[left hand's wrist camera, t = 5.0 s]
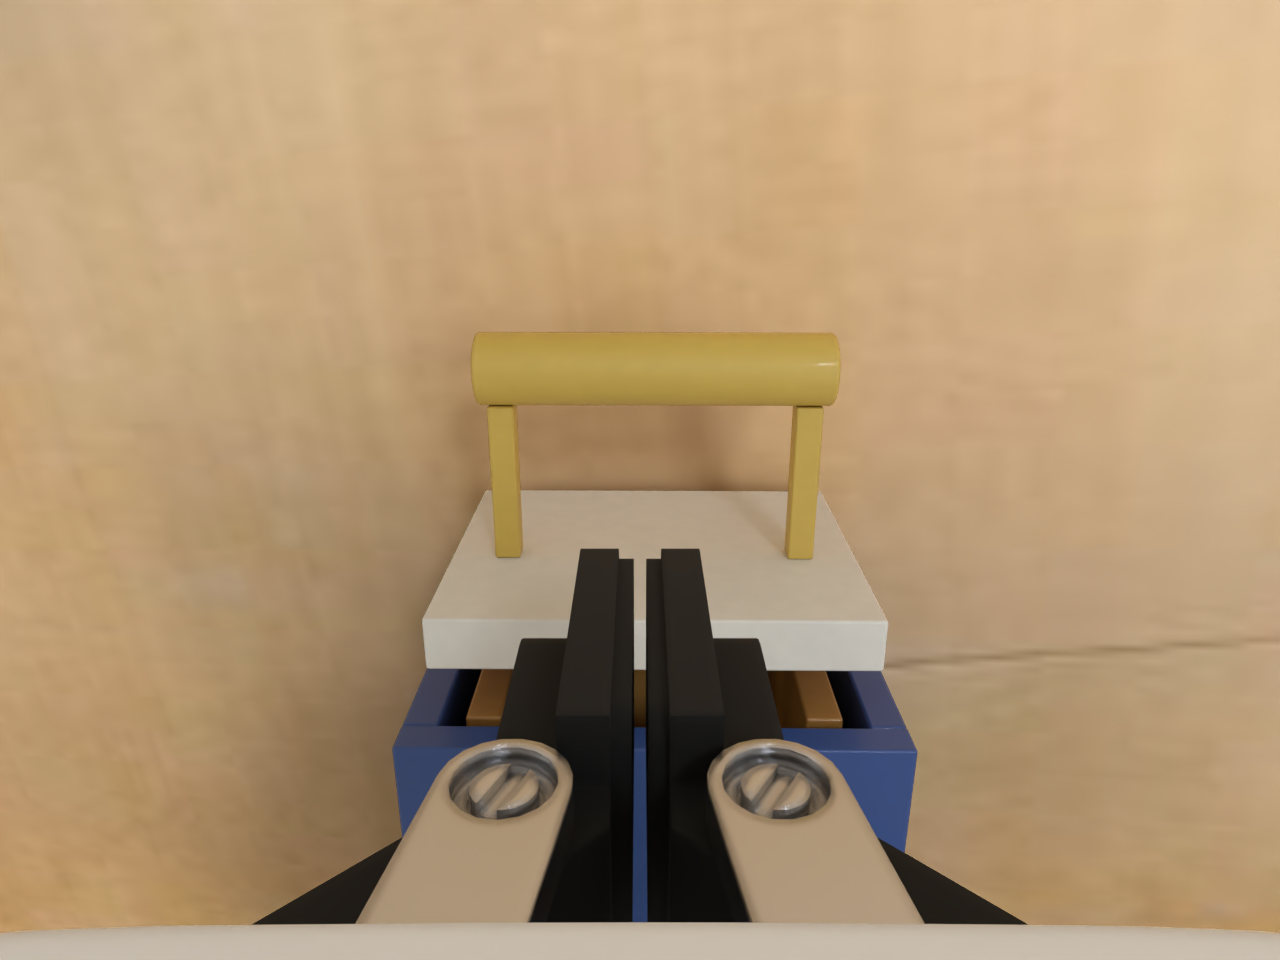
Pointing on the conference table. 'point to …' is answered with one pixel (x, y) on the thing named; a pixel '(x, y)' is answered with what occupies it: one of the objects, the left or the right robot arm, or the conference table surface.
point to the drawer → (659, 518)
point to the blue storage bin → (437, 732)
